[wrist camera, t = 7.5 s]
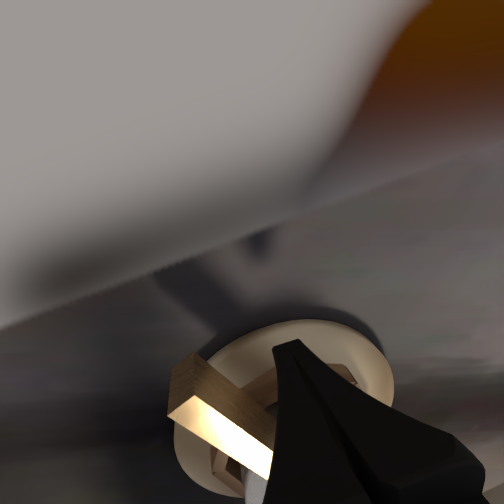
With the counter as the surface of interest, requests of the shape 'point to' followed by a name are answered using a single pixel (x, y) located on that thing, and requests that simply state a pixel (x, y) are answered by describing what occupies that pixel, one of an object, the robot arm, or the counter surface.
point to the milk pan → (225, 420)
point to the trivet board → (266, 389)
